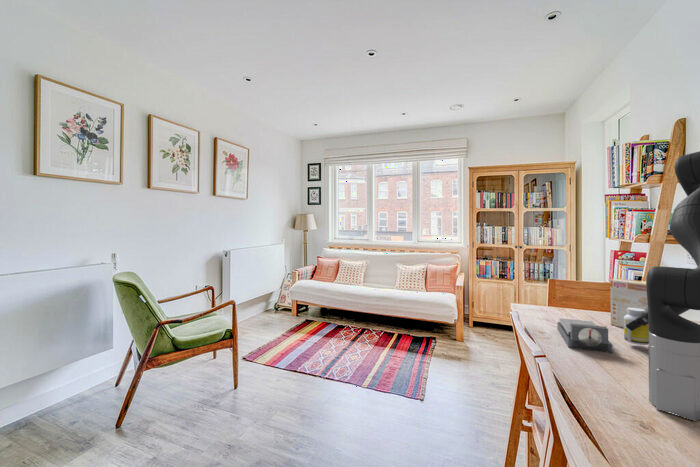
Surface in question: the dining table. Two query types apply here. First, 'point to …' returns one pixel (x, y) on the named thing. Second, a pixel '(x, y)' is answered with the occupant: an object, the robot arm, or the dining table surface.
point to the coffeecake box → (626, 298)
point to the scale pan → (566, 323)
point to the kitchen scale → (586, 337)
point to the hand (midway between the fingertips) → (630, 325)
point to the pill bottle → (638, 334)
